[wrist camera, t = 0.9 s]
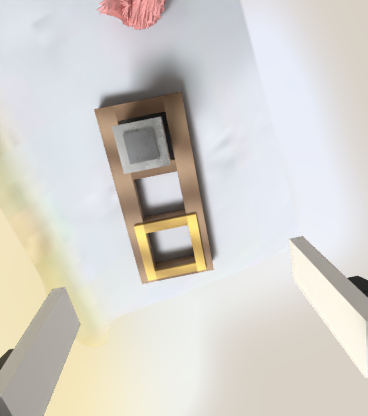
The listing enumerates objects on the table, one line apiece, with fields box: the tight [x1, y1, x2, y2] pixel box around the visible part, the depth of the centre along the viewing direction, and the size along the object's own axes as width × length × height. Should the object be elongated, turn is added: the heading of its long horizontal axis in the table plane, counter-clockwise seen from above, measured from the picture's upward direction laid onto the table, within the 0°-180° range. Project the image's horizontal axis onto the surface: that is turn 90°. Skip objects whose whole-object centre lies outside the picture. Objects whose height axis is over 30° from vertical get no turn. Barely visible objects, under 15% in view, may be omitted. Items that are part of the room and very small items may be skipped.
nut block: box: [112, 117, 170, 174], centre depth 31 cm, size 4×4×9 cm
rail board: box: [94, 92, 214, 284], centre depth 36 cm, size 23×10×2 cm, turn 11°
